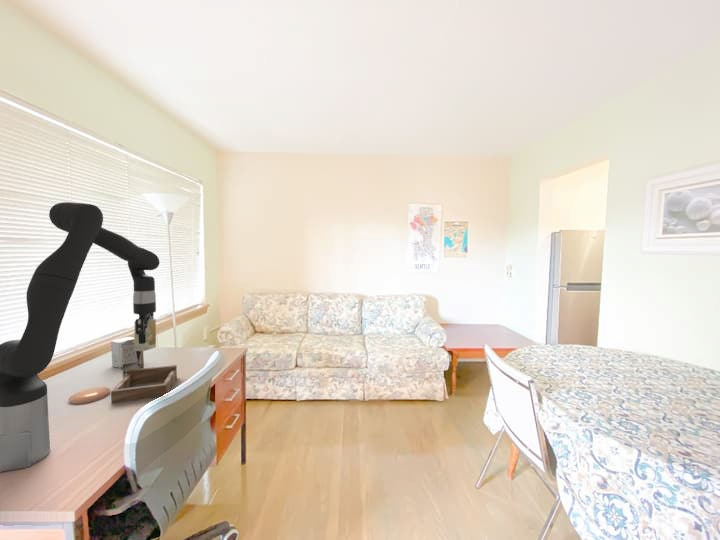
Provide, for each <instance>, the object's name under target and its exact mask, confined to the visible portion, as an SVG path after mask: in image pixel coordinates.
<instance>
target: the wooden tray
mask: <svg viewBox="0 0 720 540" xmlns="http://www.w3.org/2000/svg"><path fill="white" fill-rule="evenodd" d="M177 366H178V365H177V364H173V365H163V366H155V367H154V366H152V367H144V368H142V369H132V370H128V375H127V376H126V377H125V378H124V379H123V378H122V379H121V381H119V383H118V384H117V385H116V386H115V387H114V388H113V389H112V390H110V398H111V399H110V400H111V401H110V403H111V404H115V403H123V402H130V401H131V402H132V401H138V400H145V399H152V398H160V396H161V397H163V396H162V395H164V394H166V393H167V392H168V393H169V392H170V390H171V388H172V387H173V385H174V384H175V382H176V381H177V377H178V376H177V375H178V374H177V373H178V372H177V371H178V370H177ZM162 380H164V381H163V383H159V384H157V383H156V384H151V385H142V386H133V387H131V386H132V385H137V384H145V383H153V382H161V381H162ZM174 381H175V382H174ZM173 383H174V384H173Z"/></svg>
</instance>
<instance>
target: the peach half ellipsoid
mask: <svg viewBox="0 0 720 540" xmlns="http://www.w3.org/2000/svg"><path fill="white" fill-rule="evenodd" d="M109 394H111V388H109V387H106V386H99V387H97V386H96V387H91V388H88V389H87V388H86V389H84V390H80V391H78V392H76V393H74V394H72V395H70V397H68V402H69V403H70V404H73V405H82V404H83V405H84V404H88V403H93V402H95V401H99V400H101V399H103V398H105V397H107V396H109Z"/></svg>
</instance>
